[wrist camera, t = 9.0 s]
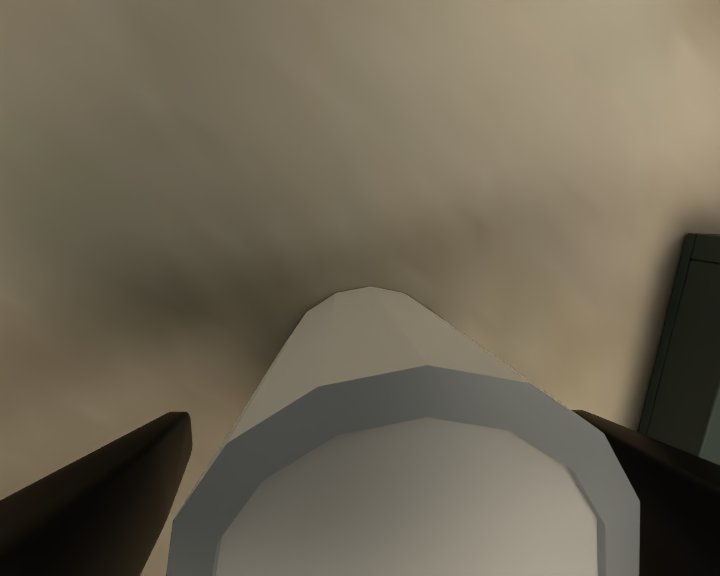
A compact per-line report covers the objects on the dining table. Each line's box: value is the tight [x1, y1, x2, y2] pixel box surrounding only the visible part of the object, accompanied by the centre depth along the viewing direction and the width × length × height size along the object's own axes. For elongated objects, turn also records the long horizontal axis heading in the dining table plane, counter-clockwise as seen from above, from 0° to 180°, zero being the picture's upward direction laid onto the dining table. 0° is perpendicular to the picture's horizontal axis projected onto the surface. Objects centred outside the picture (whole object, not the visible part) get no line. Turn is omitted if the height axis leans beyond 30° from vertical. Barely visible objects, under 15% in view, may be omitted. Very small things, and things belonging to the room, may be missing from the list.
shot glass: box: [166, 286, 640, 576], centre depth 8 cm, size 7×7×7 cm
